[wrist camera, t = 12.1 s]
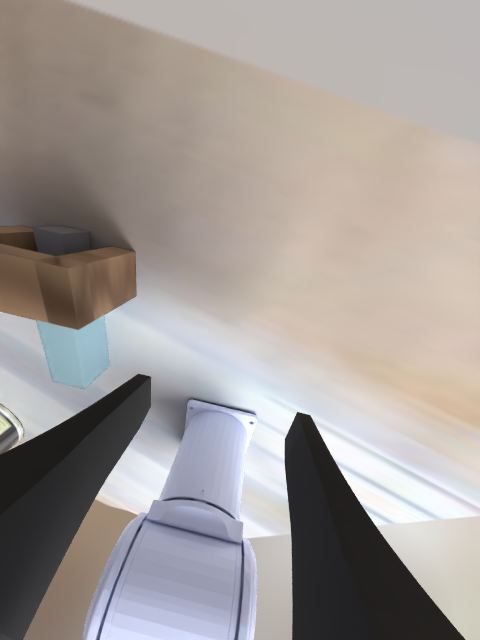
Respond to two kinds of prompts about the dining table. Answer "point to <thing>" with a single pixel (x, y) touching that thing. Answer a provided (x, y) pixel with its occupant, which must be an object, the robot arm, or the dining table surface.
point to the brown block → (62, 280)
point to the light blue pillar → (66, 343)
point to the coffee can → (9, 430)
